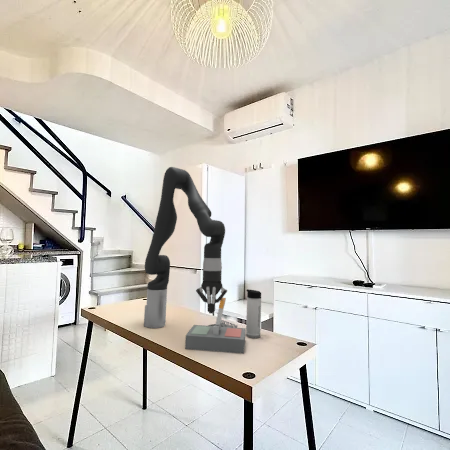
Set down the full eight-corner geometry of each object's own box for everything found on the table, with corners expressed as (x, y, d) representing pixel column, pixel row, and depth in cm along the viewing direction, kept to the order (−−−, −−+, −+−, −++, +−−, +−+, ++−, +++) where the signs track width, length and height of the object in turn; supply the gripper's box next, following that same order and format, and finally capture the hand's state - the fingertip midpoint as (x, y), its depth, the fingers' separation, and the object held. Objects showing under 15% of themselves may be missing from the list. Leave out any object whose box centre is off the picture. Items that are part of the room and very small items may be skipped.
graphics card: (222, 319, 138) (238, 324, 129) (222, 326, 138) (238, 333, 128) (192, 324, 128) (207, 331, 118) (192, 333, 128) (207, 340, 118)
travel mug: (244, 333, 126) (245, 288, 127) (258, 333, 127) (259, 288, 128) (246, 338, 120) (247, 290, 121) (261, 338, 121) (262, 291, 122)
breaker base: (185, 348, 106) (186, 327, 106) (193, 336, 120) (194, 317, 120) (243, 353, 103) (244, 331, 104) (245, 340, 117) (245, 320, 118)
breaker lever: (214, 328, 109) (220, 300, 110) (216, 323, 115) (222, 297, 116) (218, 329, 109) (224, 301, 109) (220, 324, 115) (225, 298, 115)
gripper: (194, 269, 111) (192, 314, 110) (227, 270, 109) (226, 316, 108) (198, 268, 118) (197, 310, 117) (229, 269, 117) (228, 311, 115)
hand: (211, 313), depth 112 cm, fingers closed
